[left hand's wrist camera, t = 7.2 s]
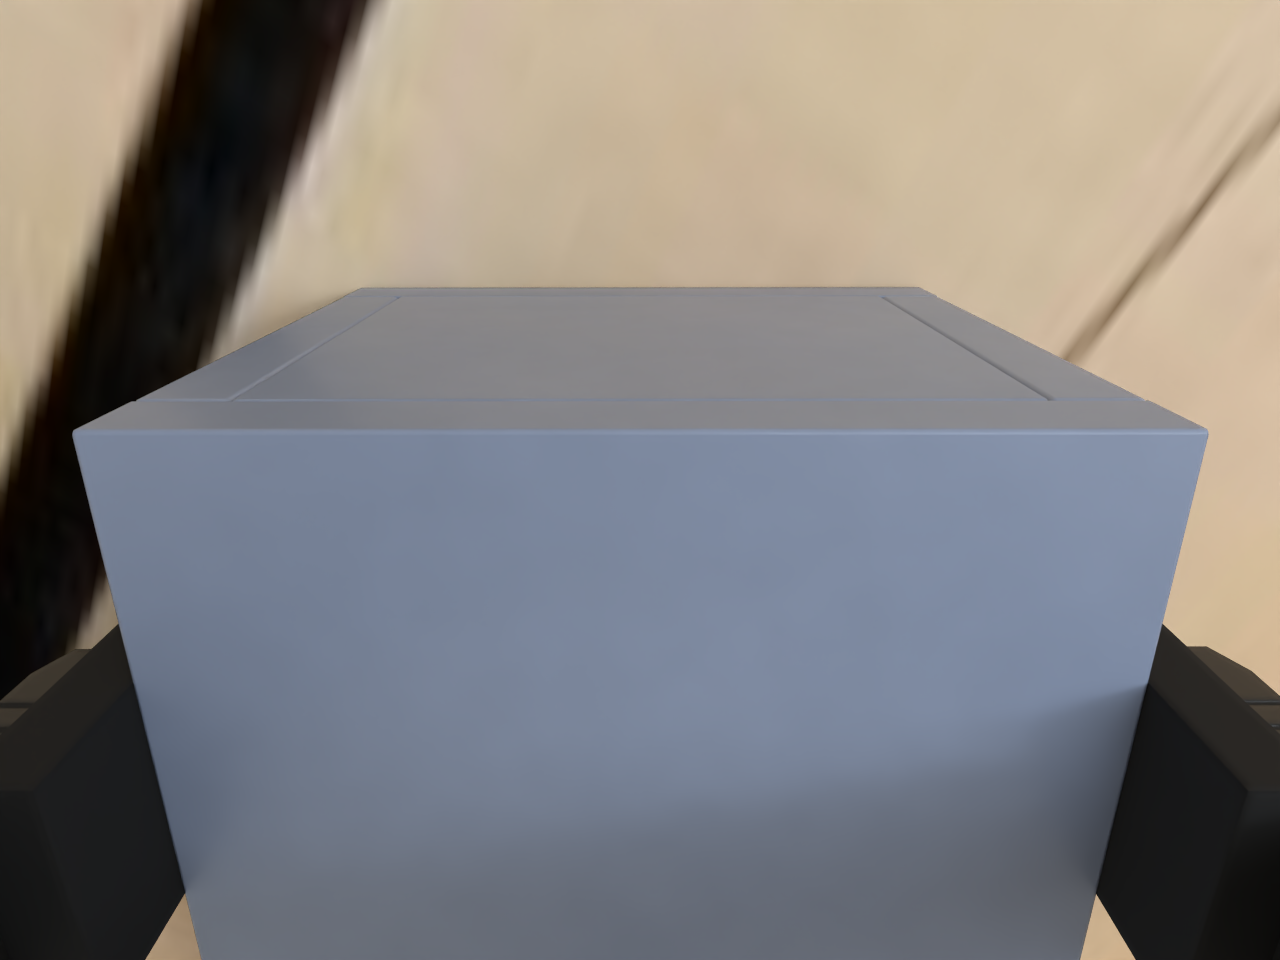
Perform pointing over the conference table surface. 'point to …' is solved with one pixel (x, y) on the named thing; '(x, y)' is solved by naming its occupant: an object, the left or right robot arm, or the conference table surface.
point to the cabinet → (640, 625)
